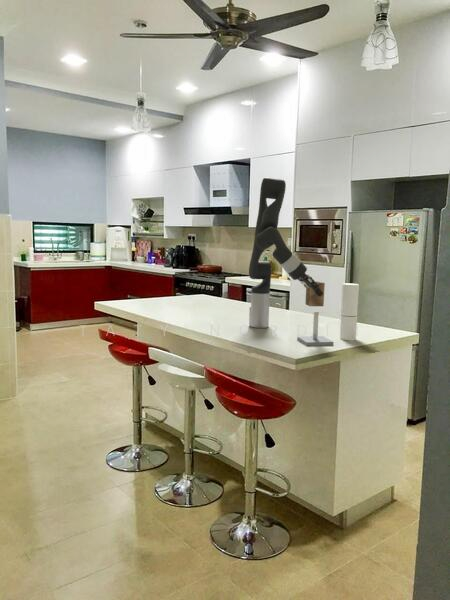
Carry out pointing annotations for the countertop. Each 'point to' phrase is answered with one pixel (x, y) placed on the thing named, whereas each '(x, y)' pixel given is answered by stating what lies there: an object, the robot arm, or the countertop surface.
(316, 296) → the collar
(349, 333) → the cylindrical container
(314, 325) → the post stand
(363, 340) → the countertop surface
